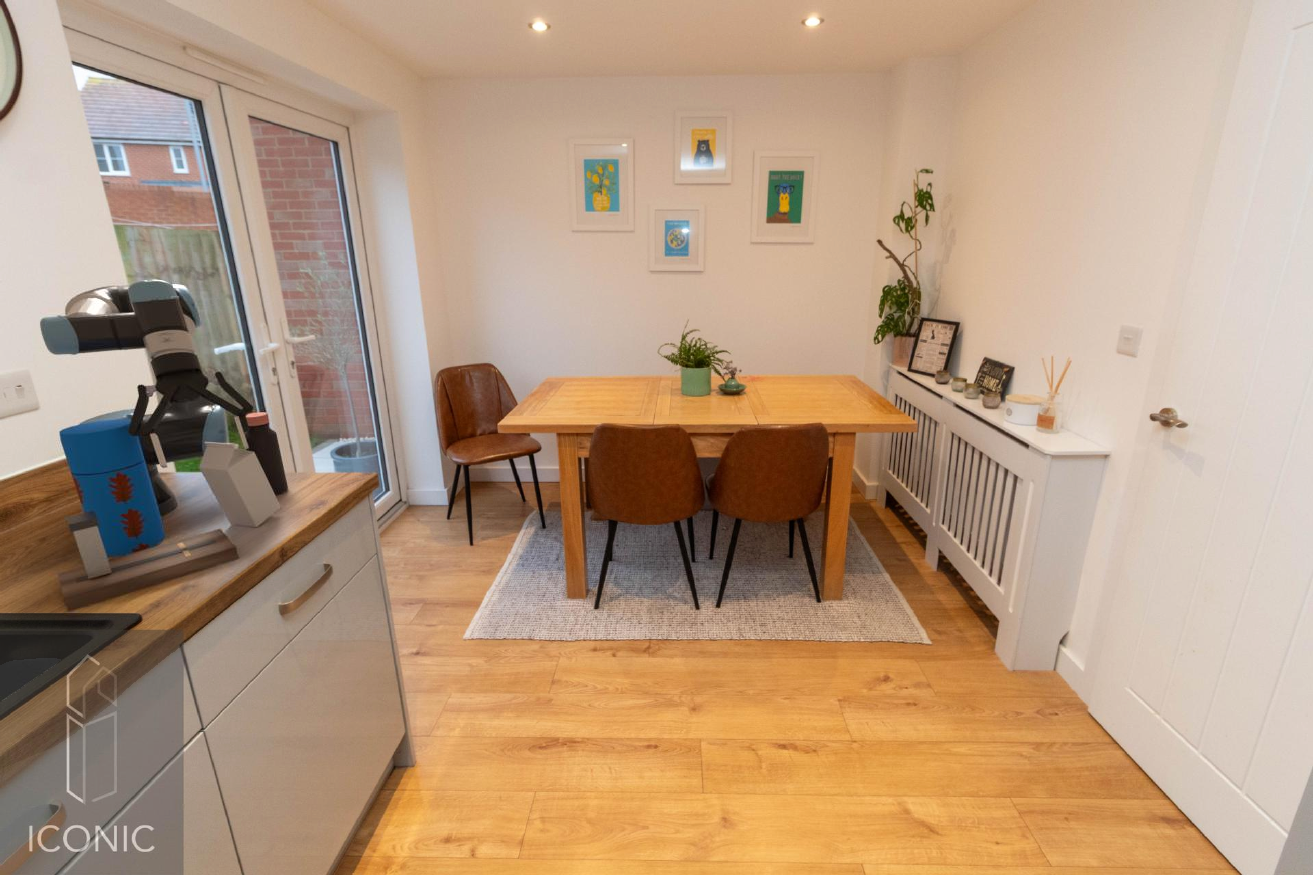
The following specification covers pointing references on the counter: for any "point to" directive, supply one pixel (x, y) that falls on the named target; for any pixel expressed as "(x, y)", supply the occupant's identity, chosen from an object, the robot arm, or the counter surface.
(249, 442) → the bottle
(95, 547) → the fader handle
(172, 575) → the console
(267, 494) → the milk carton
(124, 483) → the thermos
